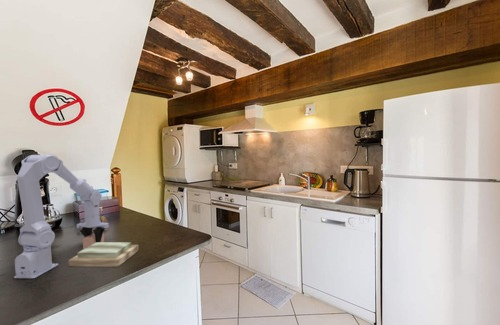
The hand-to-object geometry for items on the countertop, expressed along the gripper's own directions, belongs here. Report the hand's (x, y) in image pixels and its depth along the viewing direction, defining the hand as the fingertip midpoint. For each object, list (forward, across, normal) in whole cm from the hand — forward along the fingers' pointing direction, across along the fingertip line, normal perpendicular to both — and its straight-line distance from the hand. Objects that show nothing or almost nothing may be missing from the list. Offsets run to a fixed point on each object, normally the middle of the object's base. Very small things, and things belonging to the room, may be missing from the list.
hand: (93, 242), depth 105 cm
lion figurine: (+2, +13, -16) cm, 21 cm away
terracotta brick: (+1, 0, 0) cm, 1 cm away
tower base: (+1, -15, +12) cm, 19 cm away
